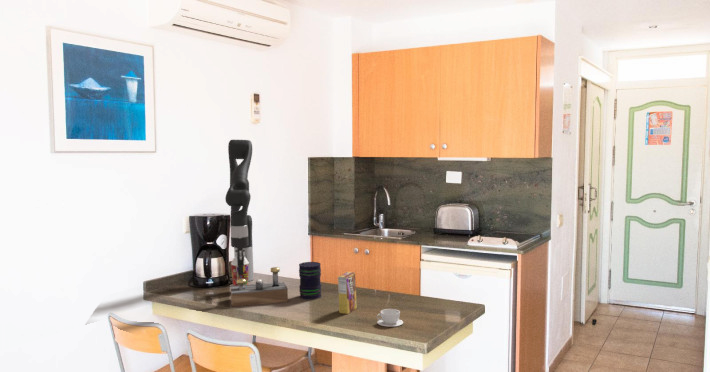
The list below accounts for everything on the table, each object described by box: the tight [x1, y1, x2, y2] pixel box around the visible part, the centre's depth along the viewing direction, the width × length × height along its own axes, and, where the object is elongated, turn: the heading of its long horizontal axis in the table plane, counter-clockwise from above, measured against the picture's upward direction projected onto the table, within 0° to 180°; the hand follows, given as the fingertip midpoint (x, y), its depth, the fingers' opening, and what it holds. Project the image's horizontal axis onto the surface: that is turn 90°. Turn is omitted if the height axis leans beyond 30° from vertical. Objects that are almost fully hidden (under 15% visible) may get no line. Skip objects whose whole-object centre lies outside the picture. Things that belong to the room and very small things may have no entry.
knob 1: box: [237, 279, 246, 290], centre depth 252 cm, size 4×4×9 cm
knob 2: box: [270, 266, 281, 287], centre depth 255 cm, size 4×4×9 cm
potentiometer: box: [255, 279, 263, 290], centre depth 250 cm, size 3×3×4 cm
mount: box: [230, 281, 289, 307], centre depth 254 cm, size 12×24×6 cm, turn 104°
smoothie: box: [230, 257, 249, 286], centre depth 269 cm, size 8×8×20 cm
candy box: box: [337, 271, 357, 315], centre depth 236 cm, size 9×4×15 cm, turn 156°
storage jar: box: [298, 261, 322, 301], centre depth 258 cm, size 10×10×15 cm
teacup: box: [376, 308, 404, 328], centre depth 219 cm, size 10×10×5 cm
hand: (240, 274), depth 251 cm, fingers closed
